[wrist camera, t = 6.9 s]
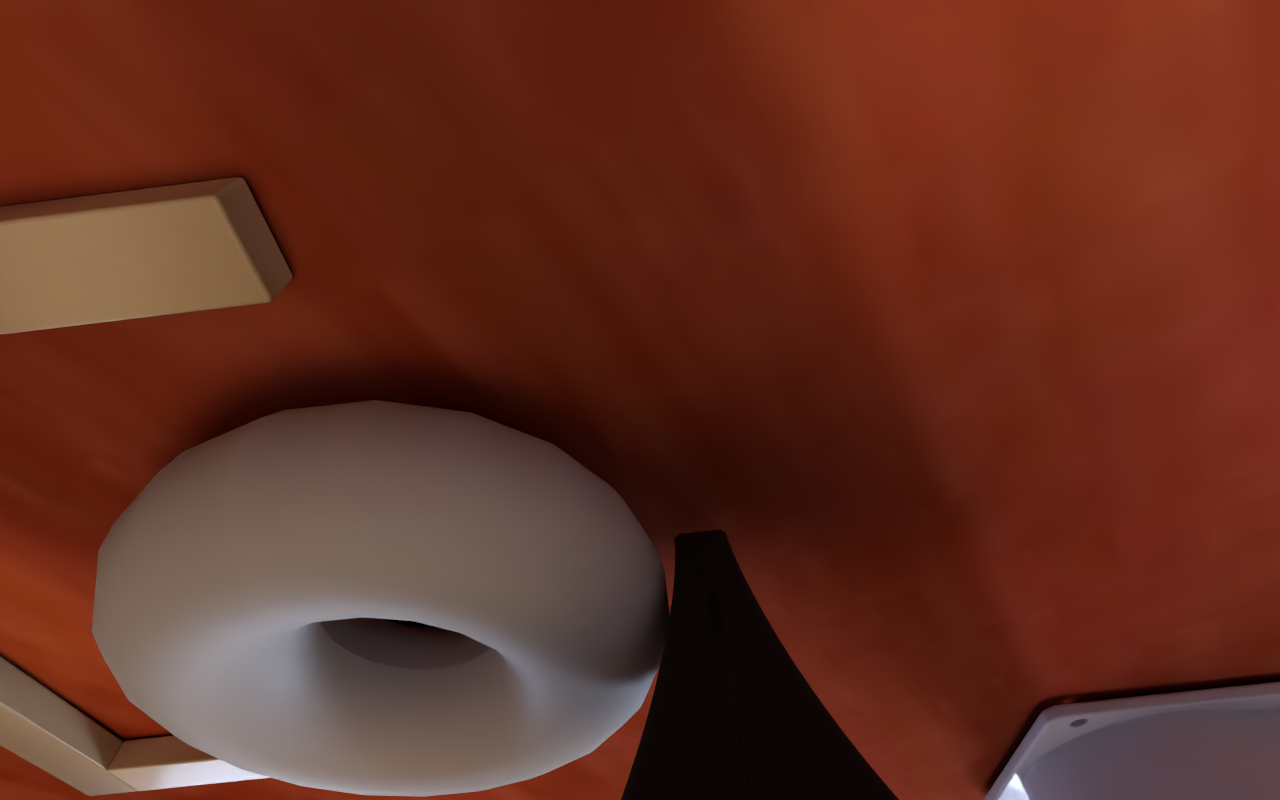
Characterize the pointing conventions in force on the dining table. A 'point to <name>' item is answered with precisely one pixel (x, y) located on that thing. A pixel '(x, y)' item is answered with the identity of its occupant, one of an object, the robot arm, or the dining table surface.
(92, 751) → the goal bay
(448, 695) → the donut
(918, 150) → the dining table surface
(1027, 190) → the dining table surface
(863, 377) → the dining table surface
